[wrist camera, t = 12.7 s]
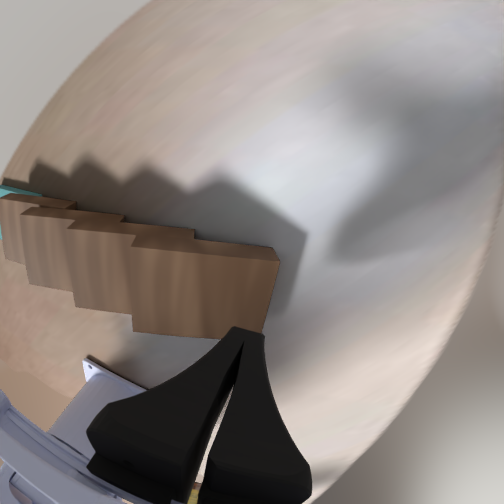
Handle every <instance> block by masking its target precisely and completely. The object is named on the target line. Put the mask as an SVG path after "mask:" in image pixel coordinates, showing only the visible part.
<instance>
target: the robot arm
mask: <svg viewBox="0 0 504 504" xmlns="http://www.w3.org/2000/svg"><path fill="white" fill-rule="evenodd" d="M264 339H265V336H264V335H263V334H262V333H258V332H254V331H250V330H247V329H243V328H239V327H236V326H234V327H231V329H230V330H229V331H228V333H227V334H226V335H225V336H224V337H223V338H222V339H221V340H220V341H219V342H218V343H217V344H216V345H215V346H214V347H213V348H212V349H211V350H210V351H209V352H208V353H207V354H206V355H204V356H203V357H202V358H201V359H199V360H198V361H197V362H196V363H194V364H193V365H192V366H190V367H189V368H187V369H186V370H184V371H183V372H181V373H180V374H178V375H177V376H175V377H173V378H171V379H170V380H168V381H166V382H164V383H162V384H160V385H158V386H156V387H154V388H152V389H149V390H145V389H143V388H141V387H139V386H137V385H135V384H133V383H131V382H129V381H127V380H125V379H123V378H121V377H119V376H117V375H115V374H114V373H112V372H110V371H108V370H106V369H104V368H103V367H101V366H99V365H97V364H96V363H94V362H92V361H90V360H89V359H87V358H84V359H83V361H82V362H83V367H84V372H85V377H86V382H87V383H86V384H85V385H84V386H83V388H82V389H81V390H80V391H79V392H78V394H77V395H76V396H75V397H74V399H73V400H72V401H71V402H70V404H69V405H68V406H67V407H66V409H65V410H64V411H63V412H62V414H61V415H60V416H59V418H58V419H57V420H56V421H55V423H54V424H53V425H52V427H51V428H50V429H49V430H48V432H44V431H43V430H41V429H40V428H39V427H38V426H37V425H35V424H34V423H33V422H31V421H30V420H29V419H27V418H26V417H25V416H24V415H23V414H22V413H20V412H19V411H18V410H17V409H16V408H14V407H13V406H12V405H11V402H10V401H9V399H8V397H7V396H6V395H5V393H4V392H3V391H2V390H1V389H0V458H1V459H2V460H3V461H4V463H3V465H2V466H1V468H0V504H127V503H124V502H122V498H123V499H125V500H127V501H129V502H132V503H134V504H187V503H188V500H189V497H190V494H191V491H192V489H193V486H194V483H195V480H196V477H197V474H198V471H199V468H200V465H201V463H202V460H203V457H204V454H205V451H206V448H207V445H208V443H209V440H210V437H211V434H212V431H213V429H214V426H215V424H216V421H217V419H218V417H219V415H220V413H221V411H222V409H223V406H224V404H225V402H226V400H227V398H228V396H229V393H230V391H231V389H232V387H233V391H232V395H231V398H230V400H229V403H228V406H227V409H226V411H225V414H224V417H223V419H222V422H221V424H220V427H219V430H218V432H217V435H216V437H215V440H214V442H213V445H212V447H211V449H210V452H209V454H208V458H207V463H206V469H205V474H204V479H203V482H202V485H201V487H200V490H199V493H198V500H197V504H302V503H303V502H304V501H306V500H307V499H308V498H309V497H310V496H311V494H312V478H311V471H310V466H309V464H308V463H307V461H306V460H305V459H304V457H303V456H302V454H301V453H300V451H299V450H298V448H297V447H296V445H295V443H294V441H293V440H292V438H291V436H290V434H289V432H288V430H287V428H286V426H285V424H284V422H283V420H282V418H281V416H280V413H279V411H278V408H277V405H276V403H275V400H274V397H273V394H272V390H271V386H270V382H269V378H268V374H267V368H266V362H265V352H264ZM233 385H234V386H233Z"/></svg>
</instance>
